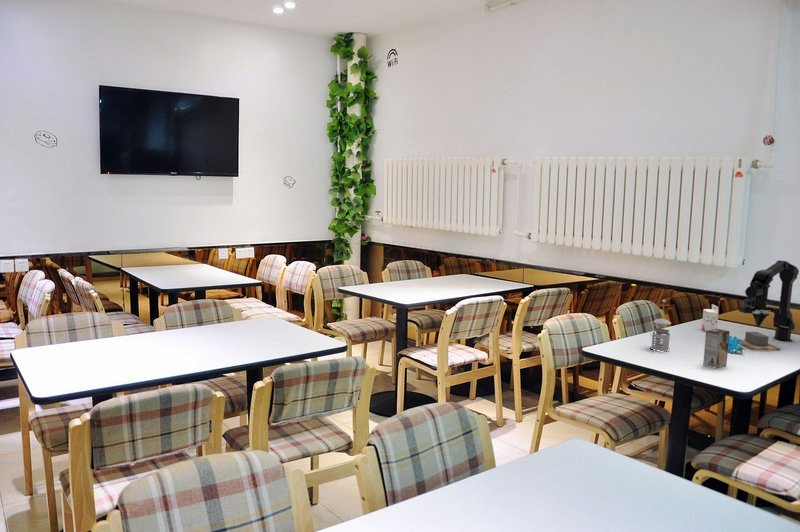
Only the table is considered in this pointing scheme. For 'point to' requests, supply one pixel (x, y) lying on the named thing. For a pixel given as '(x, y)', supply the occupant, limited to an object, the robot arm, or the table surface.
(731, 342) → the gear
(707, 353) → the coffee box
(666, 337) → the french press
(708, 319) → the ink cartridge box
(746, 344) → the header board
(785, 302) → the robot arm
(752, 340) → the block
